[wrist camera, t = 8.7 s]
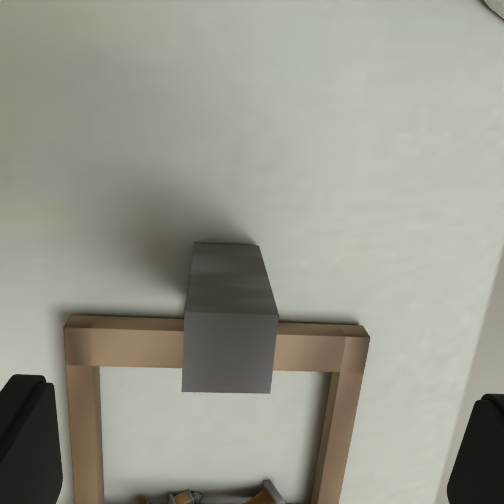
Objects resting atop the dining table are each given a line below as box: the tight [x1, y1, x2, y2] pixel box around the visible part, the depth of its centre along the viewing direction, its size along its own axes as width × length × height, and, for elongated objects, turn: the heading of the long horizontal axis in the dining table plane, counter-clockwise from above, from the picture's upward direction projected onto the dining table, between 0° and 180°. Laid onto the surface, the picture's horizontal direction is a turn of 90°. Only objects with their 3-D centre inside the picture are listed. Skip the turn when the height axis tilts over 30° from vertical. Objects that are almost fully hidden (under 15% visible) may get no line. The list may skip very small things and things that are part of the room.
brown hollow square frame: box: [64, 242, 370, 504], centre depth 20 cm, size 14×18×7 cm
